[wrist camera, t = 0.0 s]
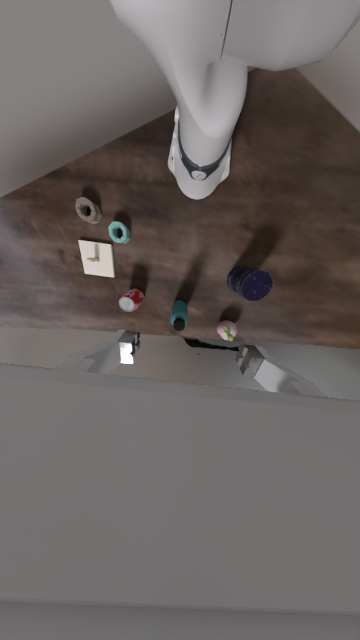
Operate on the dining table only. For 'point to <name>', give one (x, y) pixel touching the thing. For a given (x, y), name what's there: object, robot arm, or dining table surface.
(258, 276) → the storage jar
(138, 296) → the soda can
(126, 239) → the teal ring
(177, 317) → the beverage bottle
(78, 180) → the dining table surface
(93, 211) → the grey ring
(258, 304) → the dining table surface
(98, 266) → the post stand
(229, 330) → the decorative fruit
